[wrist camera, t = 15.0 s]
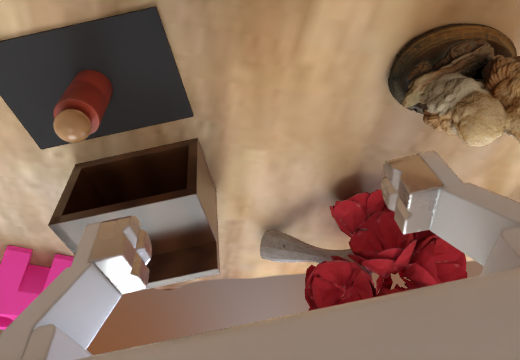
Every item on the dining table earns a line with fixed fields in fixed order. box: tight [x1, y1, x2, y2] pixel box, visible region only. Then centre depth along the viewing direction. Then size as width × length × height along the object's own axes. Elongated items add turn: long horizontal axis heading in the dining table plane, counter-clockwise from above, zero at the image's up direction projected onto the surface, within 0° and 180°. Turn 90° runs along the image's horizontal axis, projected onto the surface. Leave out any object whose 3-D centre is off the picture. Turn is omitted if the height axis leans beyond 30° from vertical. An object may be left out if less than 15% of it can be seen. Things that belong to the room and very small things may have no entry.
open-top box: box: [48, 138, 220, 292], centre depth 44 cm, size 17×10×15 cm, turn 100°
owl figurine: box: [388, 24, 520, 147], centre depth 38 cm, size 18×12×17 cm, turn 86°
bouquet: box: [260, 190, 467, 311], centre depth 53 cm, size 22×24×30 cm
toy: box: [53, 70, 113, 143], centre depth 35 cm, size 4×4×10 cm
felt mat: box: [0, 7, 193, 149], centre depth 39 cm, size 20×13×1 cm, turn 100°
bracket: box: [0, 245, 74, 330], centre depth 56 cm, size 12×10×10 cm
